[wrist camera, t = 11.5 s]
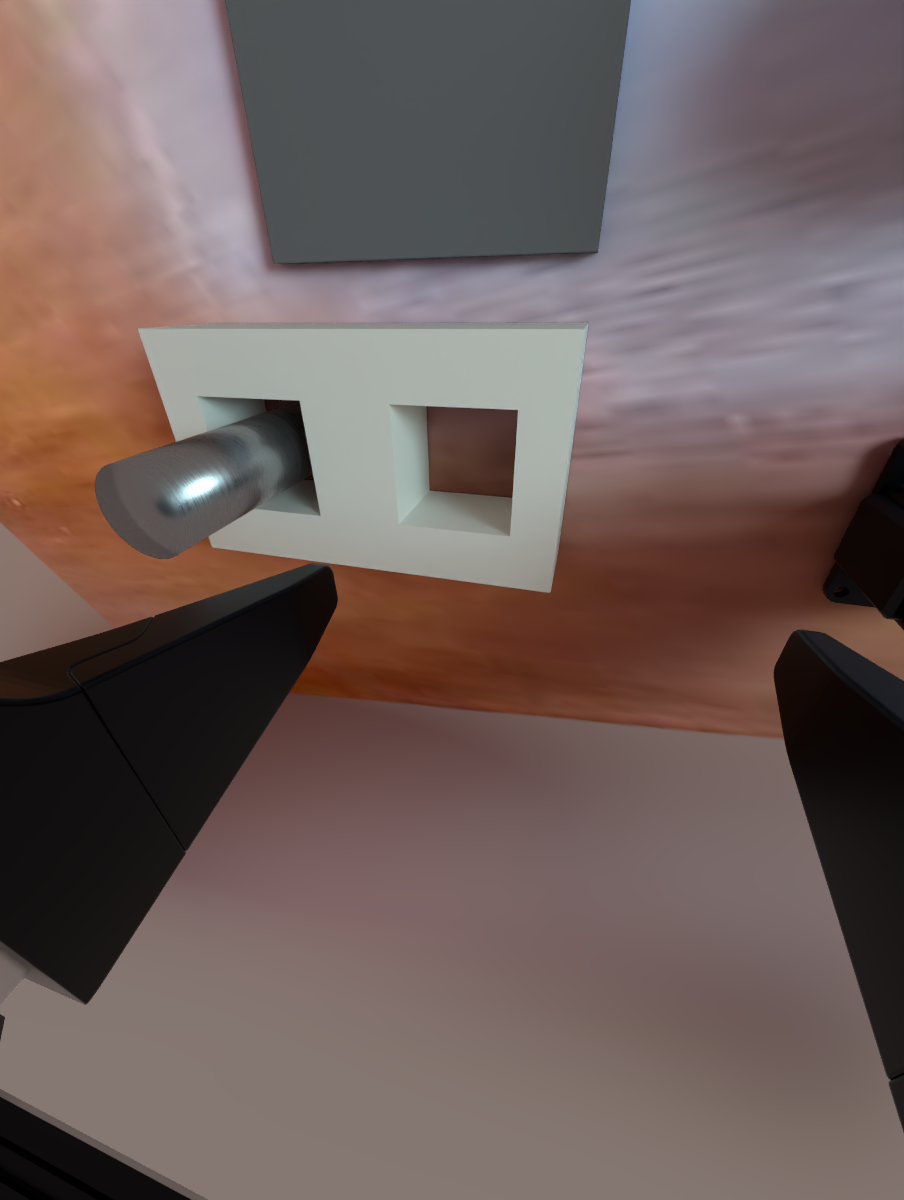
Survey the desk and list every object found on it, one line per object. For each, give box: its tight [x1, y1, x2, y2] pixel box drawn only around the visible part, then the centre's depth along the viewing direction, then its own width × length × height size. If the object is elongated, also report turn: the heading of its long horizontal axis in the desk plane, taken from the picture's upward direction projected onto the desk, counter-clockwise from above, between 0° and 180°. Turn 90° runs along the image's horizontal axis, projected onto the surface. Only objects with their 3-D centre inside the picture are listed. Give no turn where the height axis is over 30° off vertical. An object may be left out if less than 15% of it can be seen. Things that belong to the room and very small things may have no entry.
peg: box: [95, 401, 313, 559], centre depth 17 cm, size 3×3×10 cm
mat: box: [225, 0, 631, 264], centre depth 14 cm, size 12×9×1 cm
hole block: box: [138, 323, 588, 593], centre depth 19 cm, size 16×9×4 cm, turn 90°
